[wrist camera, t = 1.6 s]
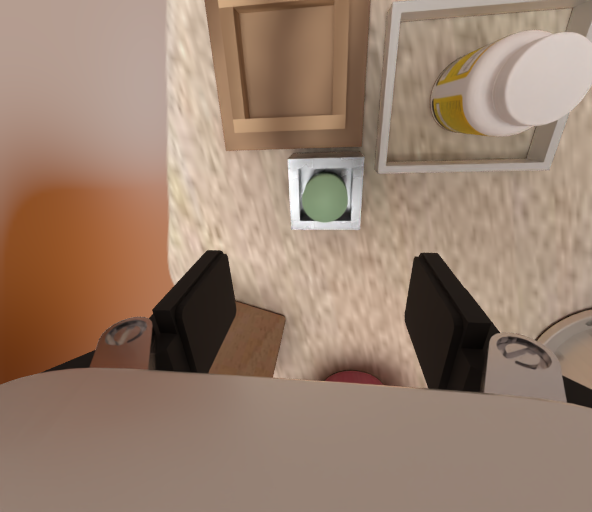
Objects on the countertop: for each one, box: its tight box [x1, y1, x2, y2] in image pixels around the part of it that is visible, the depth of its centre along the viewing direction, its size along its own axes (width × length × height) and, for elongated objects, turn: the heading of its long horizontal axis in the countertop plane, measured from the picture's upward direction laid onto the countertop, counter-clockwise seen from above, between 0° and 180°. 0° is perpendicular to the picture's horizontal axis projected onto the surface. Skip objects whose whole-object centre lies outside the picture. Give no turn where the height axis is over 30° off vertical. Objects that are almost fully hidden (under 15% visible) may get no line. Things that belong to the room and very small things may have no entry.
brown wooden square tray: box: [205, 0, 370, 151], centre depth 22 cm, size 12×12×3 cm
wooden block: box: [208, 301, 285, 378], centre depth 28 cm, size 10×10×20 cm
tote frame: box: [374, 0, 592, 174], centre depth 21 cm, size 13×11×2 cm
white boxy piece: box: [288, 151, 365, 230], centre depth 25 cm, size 6×6×4 cm
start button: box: [302, 172, 348, 223], centre depth 23 cm, size 4×4×2 cm
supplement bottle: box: [430, 30, 592, 137], centre depth 18 cm, size 5×5×10 cm
